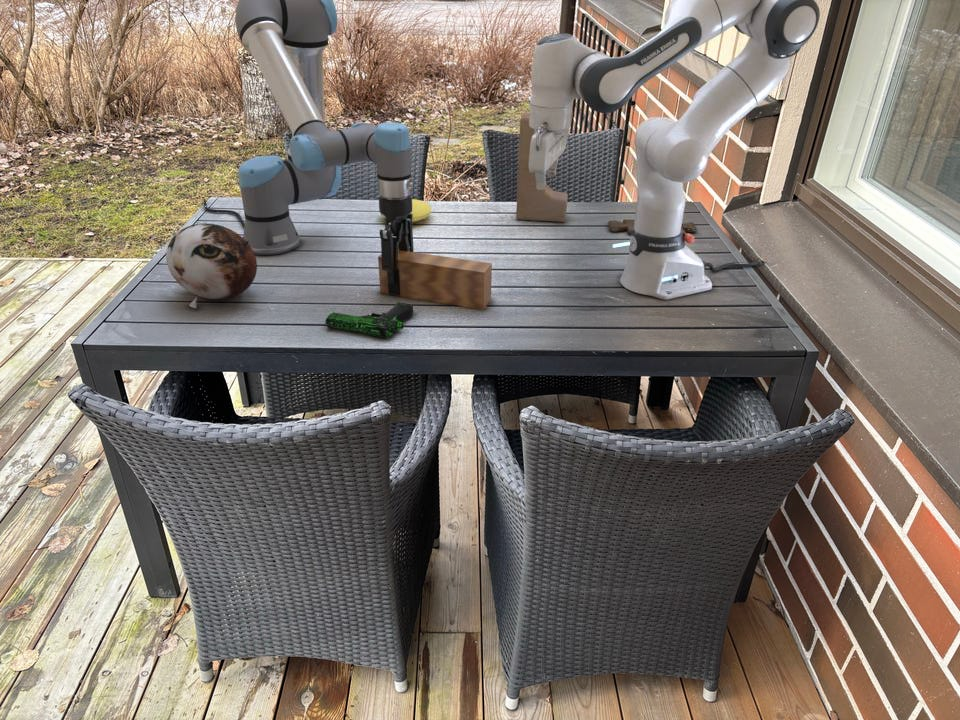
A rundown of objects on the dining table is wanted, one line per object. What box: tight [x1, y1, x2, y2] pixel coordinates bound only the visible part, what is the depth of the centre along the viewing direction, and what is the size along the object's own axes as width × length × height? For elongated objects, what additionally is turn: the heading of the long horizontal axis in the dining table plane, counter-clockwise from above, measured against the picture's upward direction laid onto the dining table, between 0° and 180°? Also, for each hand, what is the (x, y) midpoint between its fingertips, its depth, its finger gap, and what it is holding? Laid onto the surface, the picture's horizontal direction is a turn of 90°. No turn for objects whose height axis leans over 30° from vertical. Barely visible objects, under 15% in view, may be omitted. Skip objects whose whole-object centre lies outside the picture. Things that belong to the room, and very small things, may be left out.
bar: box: [377, 249, 493, 310], centre depth 168 cm, size 26×6×9 cm, turn 72°
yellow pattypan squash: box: [379, 198, 433, 223], centre depth 215 cm, size 16×16×7 cm
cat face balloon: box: [165, 222, 258, 309], centre depth 165 cm, size 22×18×20 cm
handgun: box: [324, 301, 414, 339], centre depth 158 cm, size 16×3×15 cm
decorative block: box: [515, 112, 568, 223], centre depth 212 cm, size 8×15×30 cm, turn 82°
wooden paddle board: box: [607, 219, 697, 235], centre depth 211 cm, size 26×2×10 cm
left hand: (399, 288), depth 173 cm, fingers closed on bar, 6 cm apart
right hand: (546, 182), depth 158 cm, fingers open, 8 cm apart
